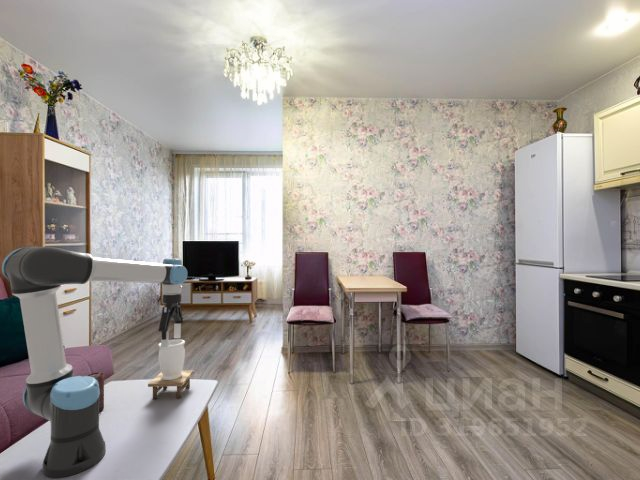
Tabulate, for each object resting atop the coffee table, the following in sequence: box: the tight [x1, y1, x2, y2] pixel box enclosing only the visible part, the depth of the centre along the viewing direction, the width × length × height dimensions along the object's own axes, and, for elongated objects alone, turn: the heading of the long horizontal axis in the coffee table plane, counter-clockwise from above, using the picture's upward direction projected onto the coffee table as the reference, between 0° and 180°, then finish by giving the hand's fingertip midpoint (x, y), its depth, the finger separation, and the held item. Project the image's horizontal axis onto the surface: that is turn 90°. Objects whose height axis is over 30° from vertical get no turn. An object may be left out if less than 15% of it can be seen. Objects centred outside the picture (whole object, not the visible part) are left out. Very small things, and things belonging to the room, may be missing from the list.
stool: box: [147, 369, 195, 400], centre depth 142 cm, size 14×14×7 cm
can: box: [87, 372, 105, 413], centre depth 127 cm, size 6×6×14 cm
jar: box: [158, 338, 186, 380], centre depth 142 cm, size 11×10×15 cm
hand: (171, 342), depth 142 cm, fingers open, 13 cm apart
